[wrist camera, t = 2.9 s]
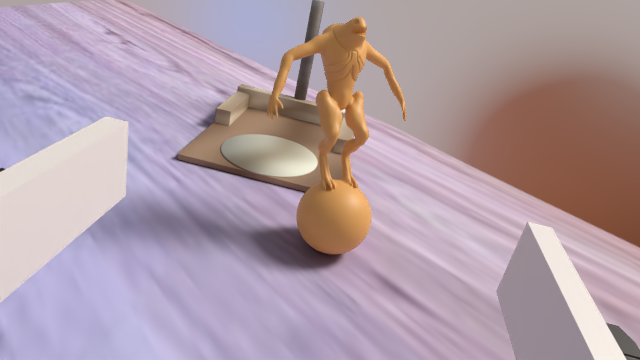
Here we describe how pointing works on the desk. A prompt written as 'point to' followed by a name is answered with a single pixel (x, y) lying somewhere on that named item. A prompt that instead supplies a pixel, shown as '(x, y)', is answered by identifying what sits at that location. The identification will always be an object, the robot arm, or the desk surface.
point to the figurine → (336, 135)
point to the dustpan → (271, 133)
